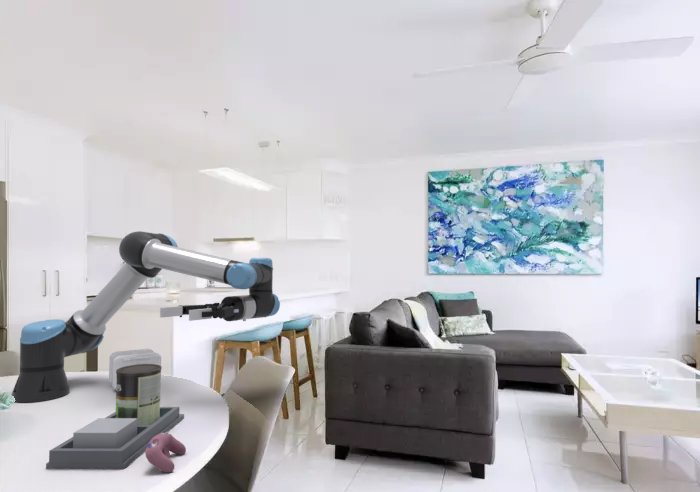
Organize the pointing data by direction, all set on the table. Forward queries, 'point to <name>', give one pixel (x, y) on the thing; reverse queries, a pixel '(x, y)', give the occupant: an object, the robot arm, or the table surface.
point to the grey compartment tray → (110, 442)
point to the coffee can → (138, 393)
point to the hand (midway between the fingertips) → (174, 314)
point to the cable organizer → (131, 361)
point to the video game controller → (163, 451)
